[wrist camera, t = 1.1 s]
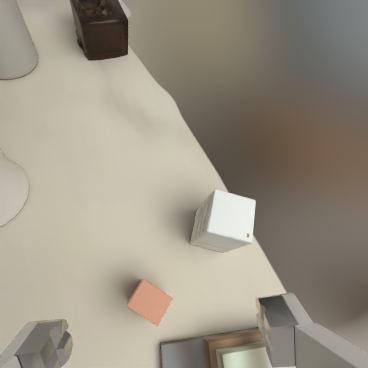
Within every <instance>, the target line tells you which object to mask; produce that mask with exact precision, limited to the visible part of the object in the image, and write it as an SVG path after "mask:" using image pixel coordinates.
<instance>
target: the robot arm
mask: <svg viewBox="0 0 368 368" xmlns="http://www.w3.org/2000/svg"><path fill="white" fill-rule="evenodd" d="M28 191H29V184H28V179H27V176H26V174H25V173H24V171H23V170H22V169H21V168H20V167H19V166H18V165H17V164H15V163H14V162H12V161H10V160H9V159H7V158H6V157H5V155H4V154H3V152H2V151H1V150H0V226H2V225H4V224H5V223H7V222H8V221H10V220H11V219H12V218H13V217H14V216H16V214H17V213H18V212H19V211H20V210H21V208H22V207H23V205H24V203H25V201H26V199H27V196H28ZM256 307H257V309H258V313H257V322H258V328H259V332H260V335H261V338H262V341H264V342H265V343H266V352H267V355H268V357H269V360H270V363H271V365H272V368H277V367H291V366H296V368H368V353H366V352H364V351H362V350H361V349H359V348H358V347H356V346H354V345H353V344H351V343H349V342H348V341H346V340H344V339H343V338H341V337H339V336H338V335H336V334H334V333H333V332H331V331H329V330H328V329H326V328H324V327H323V326H321V325H319V324H318V323H316V324H314V323H313V322H312V320H311V319H310V317H309V316H308V314H307V313H306V311H305V310H304V308H303V307H302V305H301V304H300V302H299V301H298V300H297V298H296V296H295V295H294V294H293V293H286V294H280V295H272V296H263V297H256ZM67 328H68V324H67V321H66V320H65V319H56V320H45V321H36V322H29V323H27V324H26V325H25V326H24V327H23V328H22V330H21V331H20V332H19V333H18V335H17V336H16V337H15V338H14V340H13V341H12V342H11V343H10V345H9V346H8V347H7V348H6V350H5V351H4V352H3V354H2V355H1V356H0V368H61V367H62V366H63V365H64V364H65V363H66V362H67V361H68V359H69V357H70V355H71V351H72V346H73V344H72V337H71V335H70V334H69V333H68V332H67V331H66V330H67Z"/></svg>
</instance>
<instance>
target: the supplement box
mask: <svg viewBox="0 0 368 368" xmlns="http://www.w3.org/2000/svg"><path fill="white" fill-rule="evenodd" d="M255 202H256V201H255V200H252V199H248V198H245V197H242V196H238V195H234V194H231V193H228V192H224V191H221V190H217V189H215V190H214V191H213V192H212V193H211V194H210V196H209V197H208V198H207V199H206V200H205V201H204V202H203V203H202V205H201V206H200V207H199V208H198V209H197V210H196V216H195V221H194V226H193V231H192V236H191V241H190V244H192V245H195V246H199V247H203V248H207V249H211V250H215V251H219V252H222V253H224V252H227V251H230V250H233V249H236V248H239V247H242V246H245V245H248V244H251V243H252V236H253V223H254V213H255Z"/></svg>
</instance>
